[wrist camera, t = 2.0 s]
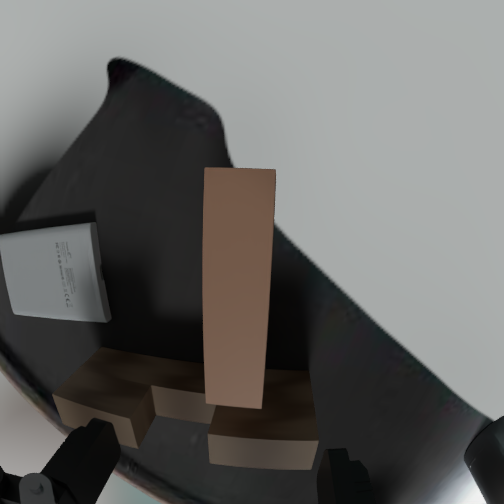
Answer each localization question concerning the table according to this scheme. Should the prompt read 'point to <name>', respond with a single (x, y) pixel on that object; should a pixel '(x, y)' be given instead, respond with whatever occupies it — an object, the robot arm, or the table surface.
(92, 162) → the table surface
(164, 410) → the notched walnut block
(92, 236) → the external hard drive
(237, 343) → the reddish brown block
